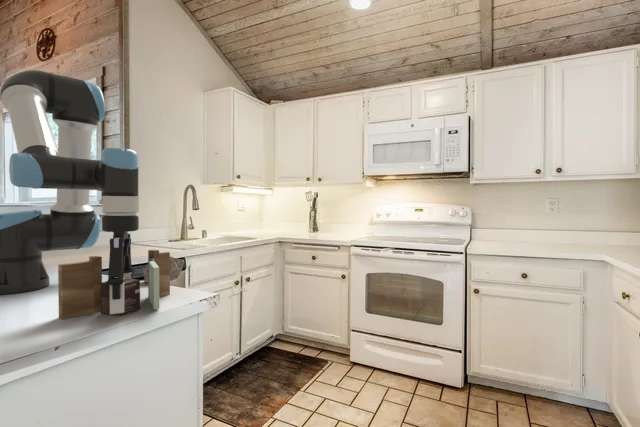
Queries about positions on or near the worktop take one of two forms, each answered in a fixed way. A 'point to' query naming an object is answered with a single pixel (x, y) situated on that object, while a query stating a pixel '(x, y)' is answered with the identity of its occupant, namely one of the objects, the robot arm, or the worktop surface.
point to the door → (154, 284)
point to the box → (129, 297)
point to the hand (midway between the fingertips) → (121, 305)
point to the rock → (175, 269)
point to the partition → (97, 284)
